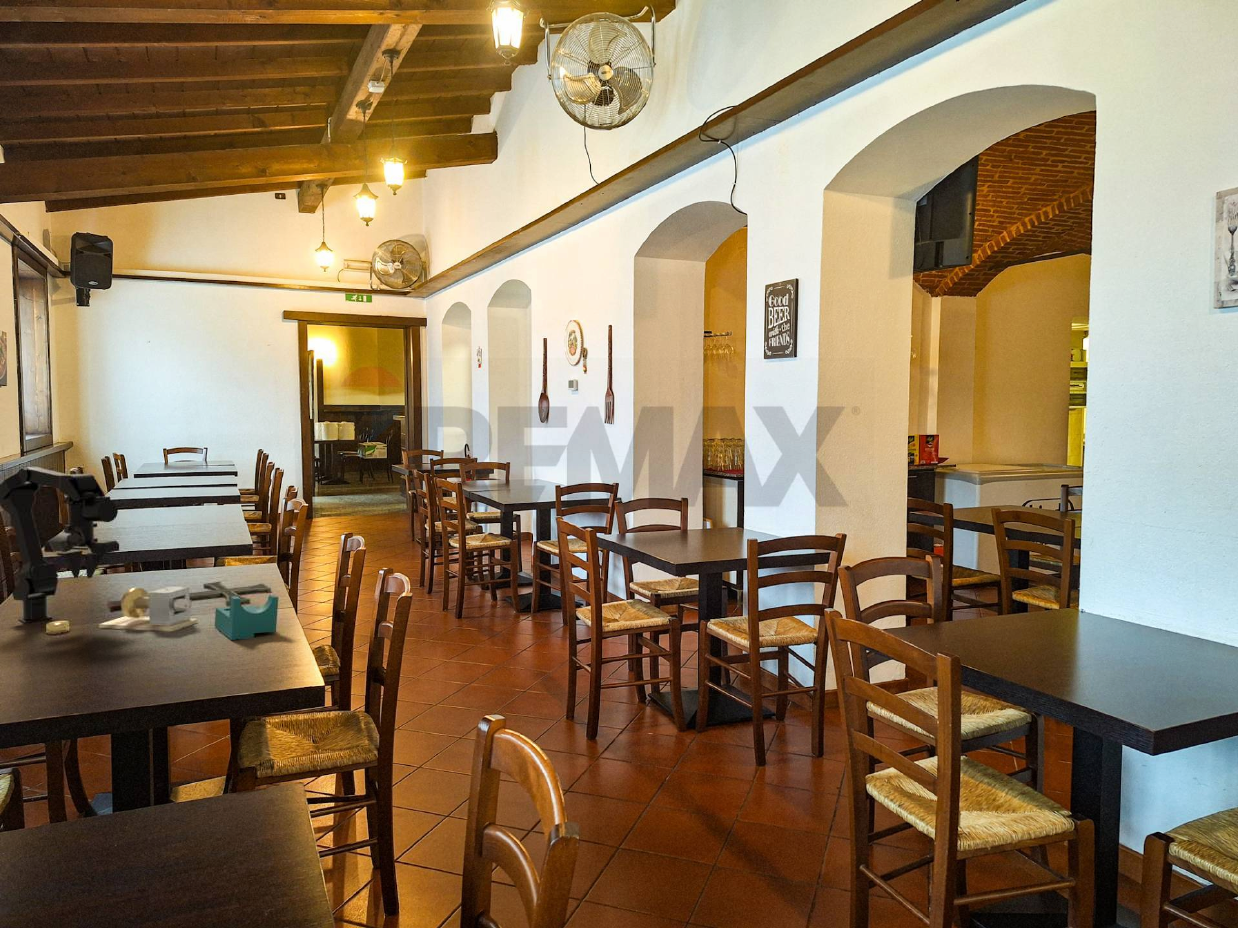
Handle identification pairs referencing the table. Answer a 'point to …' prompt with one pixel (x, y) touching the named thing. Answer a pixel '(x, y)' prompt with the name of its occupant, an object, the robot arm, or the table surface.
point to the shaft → (146, 603)
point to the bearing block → (167, 606)
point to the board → (142, 624)
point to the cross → (213, 593)
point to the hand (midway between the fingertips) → (82, 577)
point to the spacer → (57, 627)
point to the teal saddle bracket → (246, 618)
